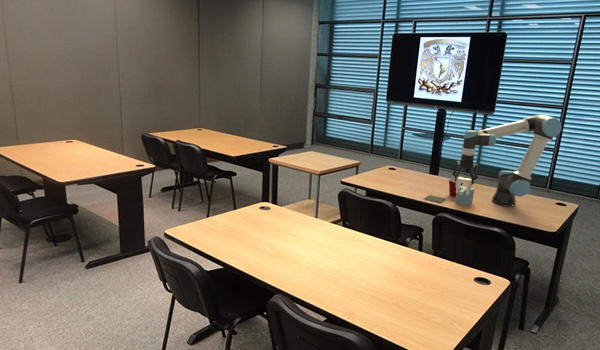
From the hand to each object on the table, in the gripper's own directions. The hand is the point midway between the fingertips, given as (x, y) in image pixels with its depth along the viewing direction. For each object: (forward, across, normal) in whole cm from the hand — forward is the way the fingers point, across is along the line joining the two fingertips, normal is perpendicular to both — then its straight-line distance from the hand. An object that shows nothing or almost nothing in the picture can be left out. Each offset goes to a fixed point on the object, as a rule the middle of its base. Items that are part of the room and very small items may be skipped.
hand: (463, 187), depth 286 cm
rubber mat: (+13, +18, -3) cm, 23 cm away
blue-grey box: (+13, 0, -4) cm, 14 cm away
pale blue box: (+4, 0, 0) cm, 4 cm away
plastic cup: (+13, +10, -22) cm, 28 cm away
